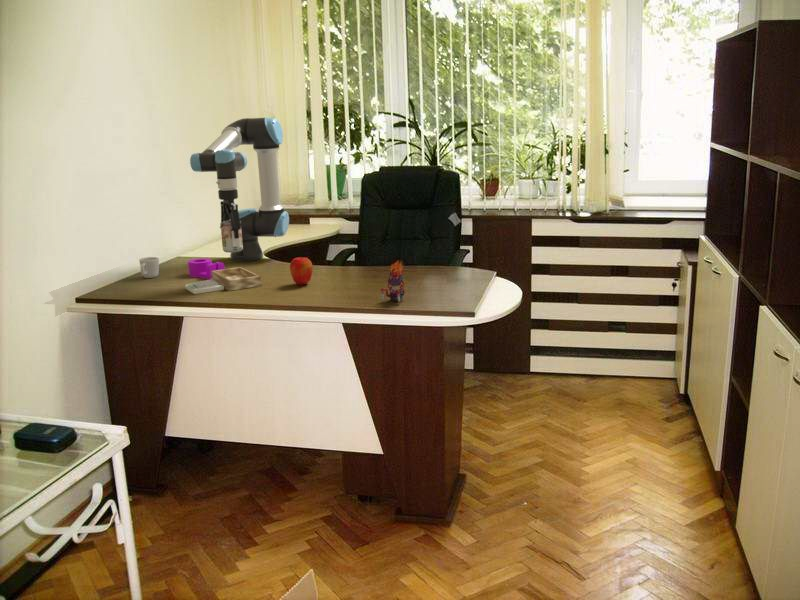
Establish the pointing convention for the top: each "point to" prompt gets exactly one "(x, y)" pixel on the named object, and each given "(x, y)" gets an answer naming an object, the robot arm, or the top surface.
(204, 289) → the checker base
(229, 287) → the trough board
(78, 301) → the top surface
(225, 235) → the beverage can
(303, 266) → the apple
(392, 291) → the figurine
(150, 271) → the cup
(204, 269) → the magenta pipe bracket
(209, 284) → the grey square pad
